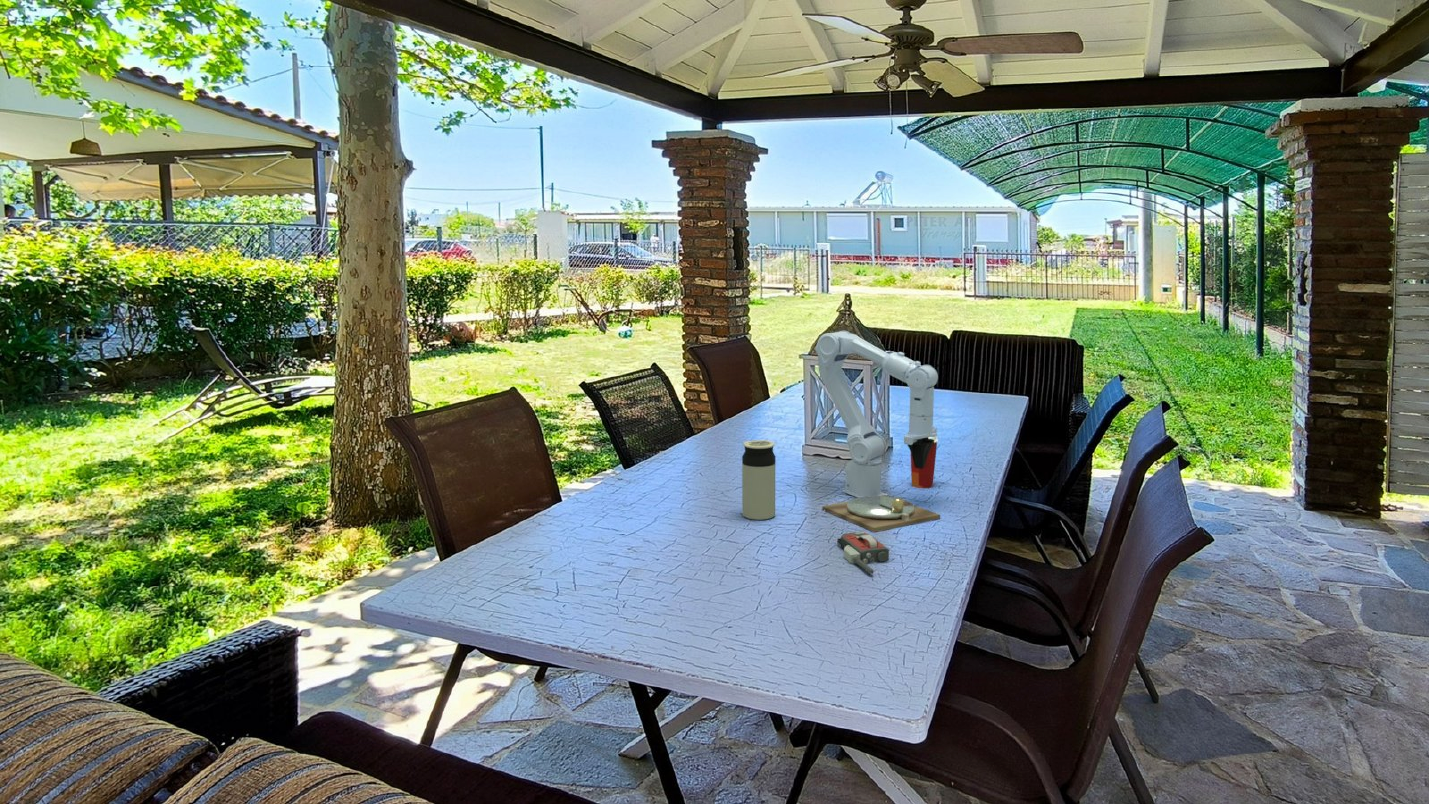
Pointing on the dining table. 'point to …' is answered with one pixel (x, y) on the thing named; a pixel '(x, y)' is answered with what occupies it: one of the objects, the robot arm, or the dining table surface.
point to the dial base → (881, 524)
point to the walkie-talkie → (863, 549)
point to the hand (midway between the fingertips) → (919, 467)
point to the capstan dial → (880, 507)
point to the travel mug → (758, 480)
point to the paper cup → (925, 469)
